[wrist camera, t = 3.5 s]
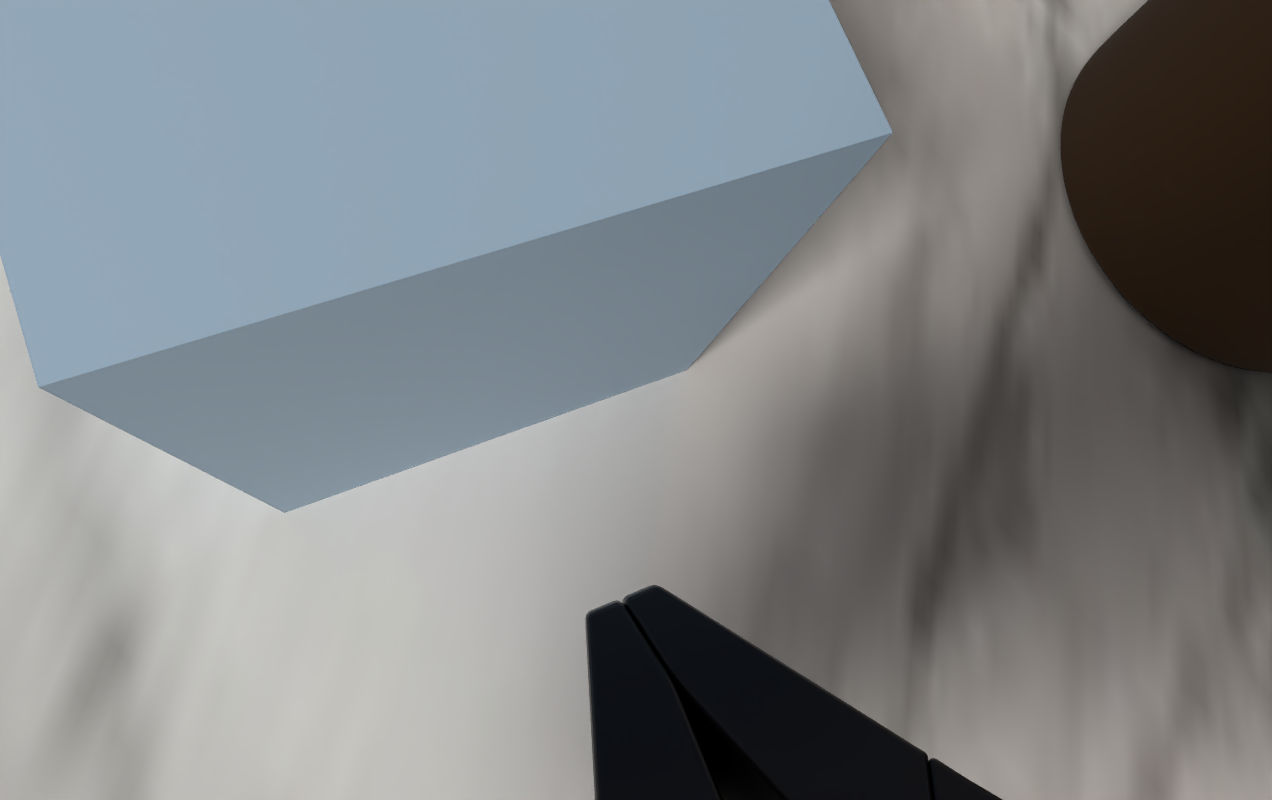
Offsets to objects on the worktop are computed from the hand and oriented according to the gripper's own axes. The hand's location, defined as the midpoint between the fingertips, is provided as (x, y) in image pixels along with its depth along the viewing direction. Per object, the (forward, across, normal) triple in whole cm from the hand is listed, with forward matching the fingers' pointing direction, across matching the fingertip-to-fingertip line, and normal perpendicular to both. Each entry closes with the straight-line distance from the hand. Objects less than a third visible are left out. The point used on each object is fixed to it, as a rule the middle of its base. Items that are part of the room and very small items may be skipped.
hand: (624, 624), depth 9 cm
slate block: (+10, 0, -1) cm, 11 cm away
